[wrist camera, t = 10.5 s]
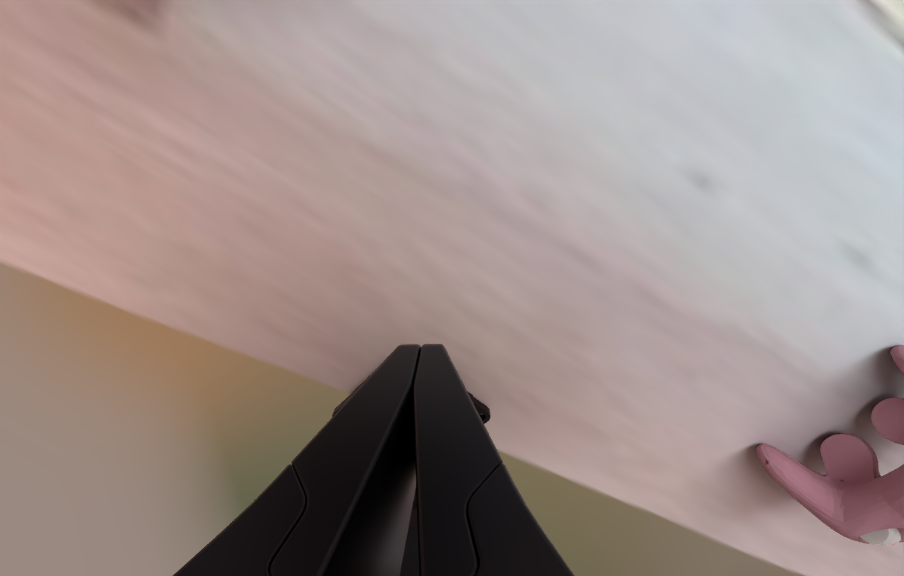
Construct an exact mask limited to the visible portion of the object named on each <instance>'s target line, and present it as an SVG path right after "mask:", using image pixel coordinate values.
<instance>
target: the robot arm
mask: <svg viewBox="0 0 904 576" xmlns="http://www.w3.org/2000/svg"><path fill="white" fill-rule="evenodd" d="M479 414H483V415H479ZM489 419H490V409H489V408H488V407H487V406H486V405H484V404H483V403H481V402H480V401H479V400H477V399H476V398H474V397H473V395H472V394H470V393H469V392H468V391H467V390H466V388H465V386H464V384H463V382H462V380H461V378H460V376H459V374H458V373H457V371H456V369H455V367H454V365H453V363H452V361H451V359H450V357H449V355H448V353H447V351H446V349H445V347H444V346H443V345H442V344H424V345H423V346H422V347H421V346H420V345H418V344H409V345H399V346H398V347H397V348H396V349H395V350H394V351H393V352H392V353H391V354H390V355H389V356H388V358H387V359H386V360H385V361H384V362H383V363H382V364H381V365H380V366H379V367H378V368H377V370H376V371H375V372H374V373H373V374H372V375H371V376H370V377H369V378H368V379H367V380H366V381H365V382H364V383H363V384H362V385H361V386H360V387H358V388H357V389H356V390H355V391H354V392H353V393H352V394H351V395H350V396H348V397H347V398H346V399H345V400H344V401H343V402H342V403H341V404H340V405H339V406H337V407H336V408H335V410H334V412H333V415H332V418H331V419H330V421H329V422H328V423H327V424H326V425H325V426H324V427H323V428H322V429H321V430H320V431H319V432H318V434H317V435H316V436H315V437H314V438H313V439H312V440H311V441H310V442H309V443H308V444H307V446H306V447H305V448H304V449H303V450H302V451H301V452H300V453H299V454H298V455H297V456H296V457H295V459H294V460H293V461H292V465H291V464H290V465H288V466H287V467H286V468H285V469H284V470H283V471H282V472H281V474H280V475H279V476H278V477H277V478H276V479H275V480H274V481H273V482H272V483H271V484H270V485H269V486H268V487H267V488H266V489H265V490H264V491H263V492H262V494H260V495H259V496H258V498H257V499H256V500H255V501H254V502H253V503H252V504H251V505H250V506H249V507H248V508H246V509H245V510H244V511H243V512H242V513H241V514H240V515H239V516H238V517H237V518H236V519H235V520H234V521H233V522H232V523H230V525H229V526H227V527H226V528H225V529H224V530H223V531H222V532H221V533H220V534H219V535H217V536H216V537H215V539H213V540H212V541H211V542H210V543H209V544H207V545H206V546H205V547H204V548H203V549H202V550H201V551H200V552H199V553H198V554H196V555H195V556H194V557H193V558H192V559H191V560H190V561H189V562H188V563H187V564H185V565H184V566H183V567H182V568H181V569H180V570H179V571H178V572H176V573H175V574H174V575H173V576H574V574H573V573H572V571H571V570H570V568H569V567H568V566H567V564H566V563H565V561H564V560H563V558H562V557H561V556H560V554H559V553H558V551H557V550H556V549H555V547H554V546H553V544H552V543H551V541H550V540H549V539H548V537H547V536H546V534H545V533H544V531H543V530H542V528H541V527H540V525H539V524H538V522H537V521H536V519H535V518H534V516H533V515H532V513H531V512H530V510H529V508H528V507H527V505H526V503H525V502H524V500H523V498H522V496H521V494H520V493H519V491H518V489H517V487H516V486H515V484H514V482H513V480H512V478H511V476H510V474H509V472H508V470H507V468H506V466H505V465H504V464H503V461H502V459H501V457H500V455H499V453H498V451H497V449H496V447H495V445H494V443H493V441H492V439H491V437H490V435H489V433H488V431H487V429H486V427H485V426H484V424H485V423H486V422H488V421H489Z"/></svg>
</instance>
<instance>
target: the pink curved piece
mask: <svg viewBox="0 0 904 576" xmlns="http://www.w3.org/2000/svg"><path fill="white" fill-rule="evenodd" d="M890 354H891V357H892V359H893V361H894V362H895V364H896V365H897V366H898V368H899V369H900V370H901V372H902V373H903V374H904V346H902V345H898V346H895V347H893V348H892V349H891V350H890ZM871 420H872V423H873V426H874V428H875V429H876V430H877V431H878V432H879V433H880V434H881V435H882V436H884V437H885V438H886V439H889V440H891V441H893V442H895V443H898V444H902V445H904V399H903V398H888V399H885V400H883V401H881V402H879V403H878V404H877V405H876V406H875V408H874V409H873V412H872V415H871ZM820 452H821V456H822V460H823V462H824V465H825V468H826V473H827V475H821V474H818V473H816V472H814V471H812V470H809V469H808V468H806V467H805V466H803V465H802V464H800V463H799V462H797V461H796V460H794V459H793V458H792V457H790V456H789V455H787V454H785V453H784V452H782V451H780V450H778V449H776V448H774V447H772V446H769V445H766V444H761V445H759V446H758V447H757V455H758V458H759V460H760V462H761V464H762V465H763V467H764V468H765V470H766V471H767V472H768V473H769V475H770V476H771V477H772V478H773V479H774V480H775V481H776V482H777V483H778V484H779V485H780V486H782V487H783V488H784V489H785V490H786V491H787V492H788V493H789V494H790V495H791V496H792V497H793V498H795V499H796V500H797V501H798V502H799V503H800V504H802V505H803V506H804V507H805V508H806V509H808V510H809V511H810V512H811V513H812V514H813V515H815V516H816V517H817V518H818V519H819V520H821V521H822V522H823V523H824V524H826V525H827V526H828V527H830V528H831V529H833V530H834V531H836V532H837V533H839V534H841V535H843V536H844V537H847V538H849V539H851V540H855V541H859V542H863V543H868V544H875V545H894V544H897V543H898V542H904V465H902V466H901V467H899V468H897V469H895V470H893V471H892V472H890V473H888V474H886V475H884V476H880V474H879V470H878V460H877V457H876V454H875V452H874V451H873V449H872V448H871V447H870V445H869V444H868V443H867V442H865V441H864V440H862V439H861V438H859V437H856V436H854V435H850V434H836V435H832V436H830V437H828V438H827V439H825V440H824V441H823V443H822V445H821V449H820Z"/></svg>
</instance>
